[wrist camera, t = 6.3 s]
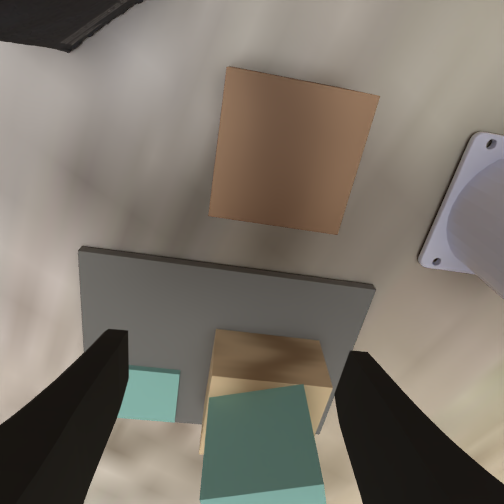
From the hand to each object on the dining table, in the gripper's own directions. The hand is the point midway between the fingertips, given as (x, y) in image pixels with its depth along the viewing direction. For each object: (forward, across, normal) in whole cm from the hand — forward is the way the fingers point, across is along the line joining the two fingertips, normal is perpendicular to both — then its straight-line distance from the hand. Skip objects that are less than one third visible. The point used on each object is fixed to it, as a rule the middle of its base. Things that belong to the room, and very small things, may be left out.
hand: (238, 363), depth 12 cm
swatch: (+10, +5, +13) cm, 17 cm away
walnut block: (+10, -1, -6) cm, 12 cm away
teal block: (+6, -3, +10) cm, 12 cm away
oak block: (+10, -3, +10) cm, 15 cm away
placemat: (+10, 0, +9) cm, 14 cm away
